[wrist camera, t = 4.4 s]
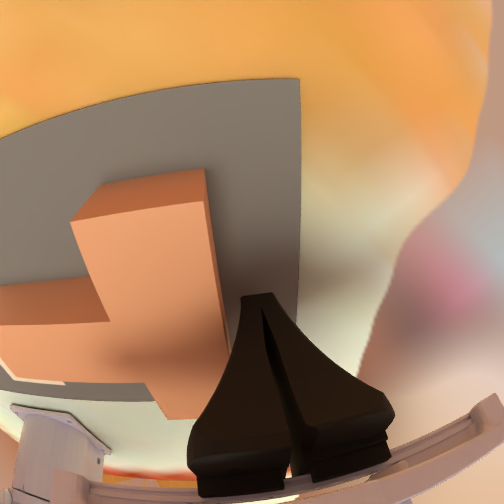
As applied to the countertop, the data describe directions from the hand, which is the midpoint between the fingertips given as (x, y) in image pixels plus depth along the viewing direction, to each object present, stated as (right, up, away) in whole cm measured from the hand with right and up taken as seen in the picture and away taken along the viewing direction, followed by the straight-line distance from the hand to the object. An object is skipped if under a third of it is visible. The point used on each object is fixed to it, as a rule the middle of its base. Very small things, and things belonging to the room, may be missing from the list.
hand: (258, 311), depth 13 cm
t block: (-8, 0, 0) cm, 8 cm away
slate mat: (-13, -1, 0) cm, 14 cm away
